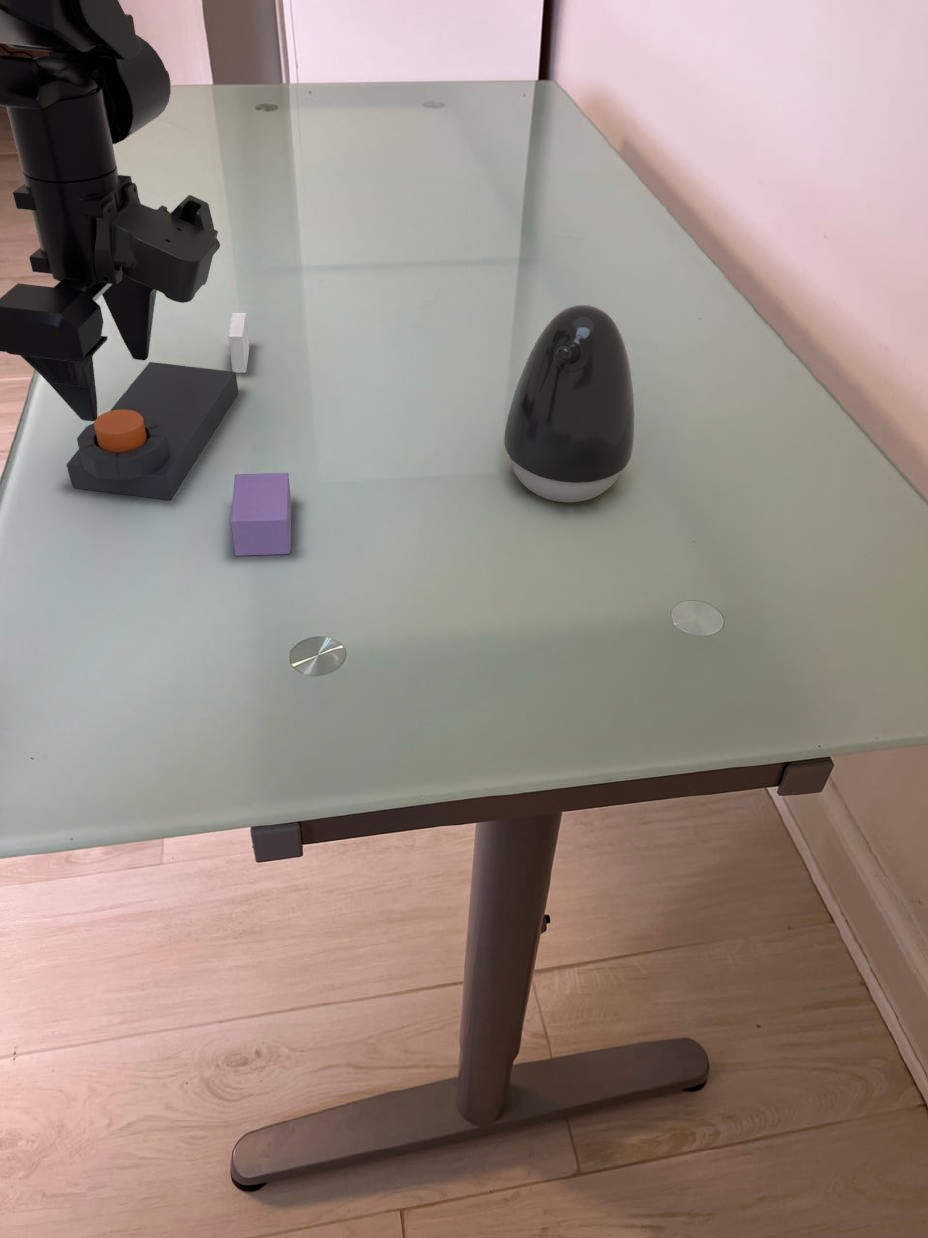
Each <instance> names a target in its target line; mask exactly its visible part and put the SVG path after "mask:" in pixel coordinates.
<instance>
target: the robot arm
mask: <svg viewBox="0 0 928 1238" xmlns="http://www.w3.org/2000/svg"><path fill="white" fill-rule="evenodd" d="M0 44H4V45H6V46H7V47H9V48H10V49H17V50H18V49H19V50H28V51H29V50H30V51H36V52H37V51H38V52H48V55H41V56H36V57H33V58H32V57H25V56H15V55H6V54H1V55H0V107H5V108H6V111H7V114H8V115H7V116H8V120H9V124H10V127H11V132H12V136H13V140H14V144H15V147H16V148H15V149H16V152H17V157H18V160H19V161H18V162H19V165H20V168H21V174H22V177H23V182H24V184H23V185H21V186H19V187H18V188H17V189H15V190H14V191H12V196H13V199H14V204H15V207H16V209H18V210H26V211H27V210H28V211H31V214H32V218H33V222H34V223H33V224H34V226H35V230H36V233H37V234H36V236H37V239H38V243H39V248H38V249H37V250H35V251H34V252H33V253H32V254H30V255H29V256H28V258H29V262H30V267H31V271H32V272H33V273H38V274H39V273H40V274H41V273H42V274H50V275H51V276H52V279H53V280H55V281H58V283H57V284H56V285H55V286H44V285H37V284H28V283H21V282H20V283H19V282H17V284H15V285H14V286H13V287H12V288H11V289H9V290H8V291H7V292H6V293H5V294H3V295H2V296H1V297H0V352H2V353H3V352H4V353H7V354H8V355H15V356H20V357H21V358H22V359H23V360H24V362H26V363H27V364H28V365H29V366H31V368H33V369H34V370H35V371H36V372H37V373H38V374H39V375H40V376H41V377H42V378H43V379H44V380H45V381H46V382H47V383H48V384H49V386H51V388H52V389H53V390H54V391H55V392H56V393H57V394H58V396H60V398H61V399H62V400H63V401H64V402H65V403H66V405H68V407H69V408H70V409H71V410H72V411H73V412H74V414H76V416H78V418H79V419H80V420H82V421H85V422H87V421H88V422H95V420H96V419H97V418H98V417H99V415H98V397H97V388H96V379H95V368H94V359H93V357H94V355H95V354H96V352H98V351H99V350H100V348H101V347H102V346H103V345H104V344H105V343H106V342H107V340H108V338H109V337H108V336H106V335H102V333H103V327H104V317H103V313H102V308H101V307H102V306H101V305H100V304H98V302H96V301H97V300H98V299H99V298H100V297H101V296H102V297H103V300H104V303H105V304H106V306H107V309H108V311H109V313H110V315H111V317H112V319H113V321H114V323H115V324H114V325H115V326H116V328H117V330H118V331H119V332H118V333H119V334H120V337H121V339H122V341H123V343H124V345H125V347H126V349H127V350H128V352H129V354H130V355H131V358H132V359H133V360H136V361H147V359H148V358H149V353H150V346H151V337H152V328H153V321H154V313H155V305H156V299H157V293H158V292H159V293H162V294H163V295H164V296H165V297H166V299H169V300H170V301H173V302H176V303H183V304H184V303H189V302H191V301H192V300H193V299H194V298H195V295H196V294H197V292H199V290H200V289H201V288H202V286H206V283H207V282H208V278H209V275H210V270H211V267H212V266H211V265H212V262H213V257H214V255H215V254H216V253H217V251H219V249H220V247H221V242H220V240H218V234H219V231H218V230H216V229H215V225H214V221H213V217H212V213H211V209H210V204H209V203H208V202H206V201H205V200H202V199H200V198H198V197H196V196H193V195H192V194H189V195H187V196H186V197H185V198H184V199H183V200H181V202H180V203H179V204H178V205H177V206H176V207H175V208H174V209H173V210H172V211H171V212H170V211H169V210H168V207H167V206H165V205H162V204H161V206H159V207H158V208H157V209H156V208H152V207H150V206H148V205H145V204H142V203H141V200H140V197H139V192H138V191H139V190H138V186H137V183H136V182H133V179H132V176H131V175H124V174H122V175H121V174H119V172H118V171H119V170H118V166H117V165H118V164H117V161H116V156H115V155H116V154H115V149H114V145H116V144H118V143H120V142H123V141H124V140H126V139H128V138H129V137H130V136H132V135H133V134H135V133H136V132H138V131H139V130H140V129H142V128H144V127H145V126H146V125H148V124H150V123H151V122H152V121H154V120H156V119H157V118H158V117H160V115H162V113H164V112H165V110H166V108H167V106H168V105H169V102H170V97H171V85H172V84H171V78H170V74H169V71H168V70H167V69H166V67H165V64H164V62H163V60H162V58H161V57H160V55H159V53H158V52H157V50H156V49H155V48H154V47H153V46H152V45H151V44H150V43H149V42H148V41H147V40H145V39H144V38H143V37H141V36H140V35H137V34H136V28H135V21H134V17H133V15H132V14H128V13H125V11H124V9H123V7H122V5H121V4H120V1H119V0H0Z"/></svg>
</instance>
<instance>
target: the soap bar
mask: <svg viewBox="0 0 928 1238" xmlns="http://www.w3.org/2000/svg"><path fill="white" fill-rule="evenodd" d="M289 475H290V474H289V473H288V472H271V473H270V472H269V473H268V472H267V473H235V474H234V479H233V480H234V481H233V492H232V501H231V502H232V503H231V513H230V528H231V535H232V542H233V549H234V555H235V556H236V557H241V556H242V557H243V556H245V557H246V556H271V555H274V556H275V555H290V554H291V544H292V543H291V542H292V540H291V539H292V536H291V535H292V499H291V487H290V485H291V484H290V476H289Z"/></svg>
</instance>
